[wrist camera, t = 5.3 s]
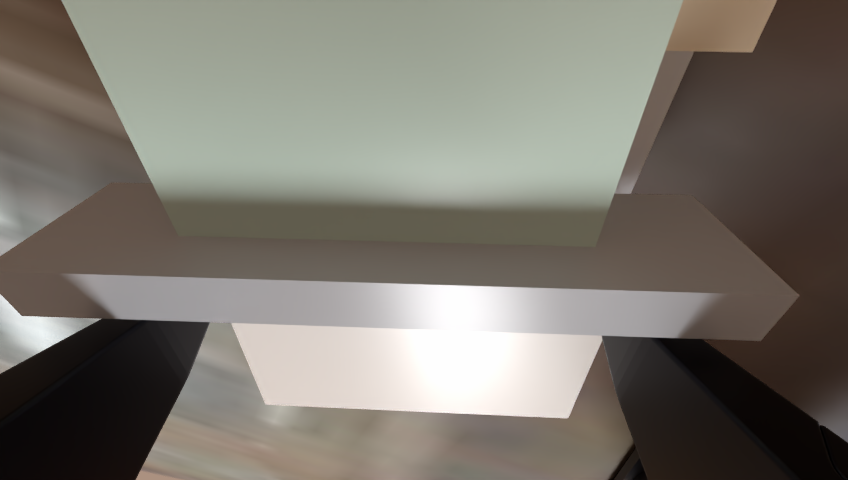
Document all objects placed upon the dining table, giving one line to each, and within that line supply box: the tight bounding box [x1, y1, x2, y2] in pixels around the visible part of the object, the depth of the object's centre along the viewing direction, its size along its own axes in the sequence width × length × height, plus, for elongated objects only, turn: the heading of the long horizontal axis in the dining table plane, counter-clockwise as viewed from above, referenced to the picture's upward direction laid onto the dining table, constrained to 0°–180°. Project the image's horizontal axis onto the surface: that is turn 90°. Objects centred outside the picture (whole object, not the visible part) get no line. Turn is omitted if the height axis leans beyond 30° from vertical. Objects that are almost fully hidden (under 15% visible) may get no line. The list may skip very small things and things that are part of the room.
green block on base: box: [0, 0, 799, 341], centre depth 5 cm, size 8×12×4 cm, turn 90°
